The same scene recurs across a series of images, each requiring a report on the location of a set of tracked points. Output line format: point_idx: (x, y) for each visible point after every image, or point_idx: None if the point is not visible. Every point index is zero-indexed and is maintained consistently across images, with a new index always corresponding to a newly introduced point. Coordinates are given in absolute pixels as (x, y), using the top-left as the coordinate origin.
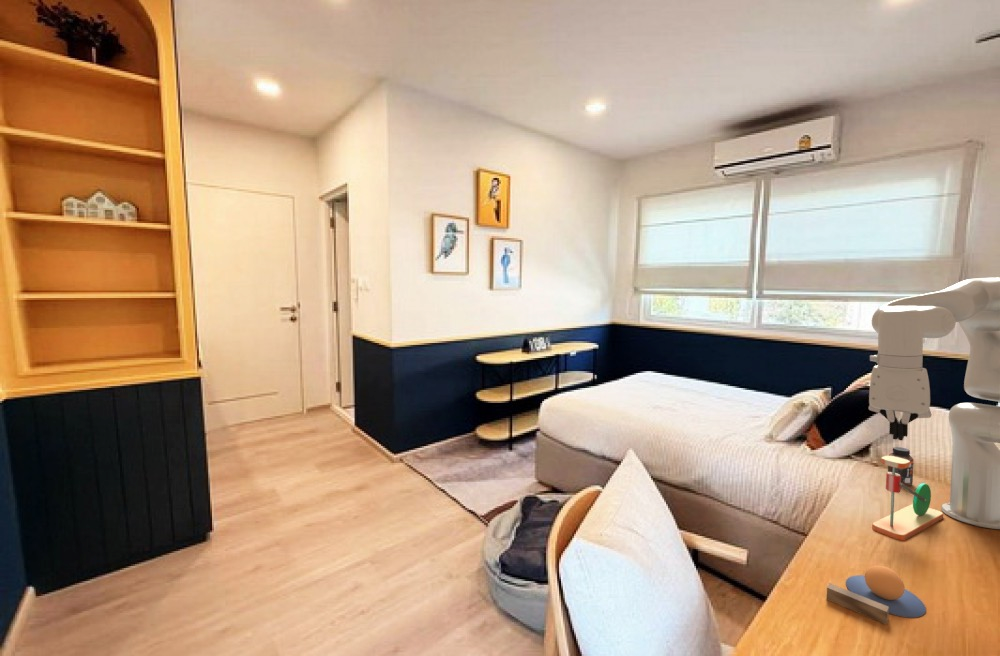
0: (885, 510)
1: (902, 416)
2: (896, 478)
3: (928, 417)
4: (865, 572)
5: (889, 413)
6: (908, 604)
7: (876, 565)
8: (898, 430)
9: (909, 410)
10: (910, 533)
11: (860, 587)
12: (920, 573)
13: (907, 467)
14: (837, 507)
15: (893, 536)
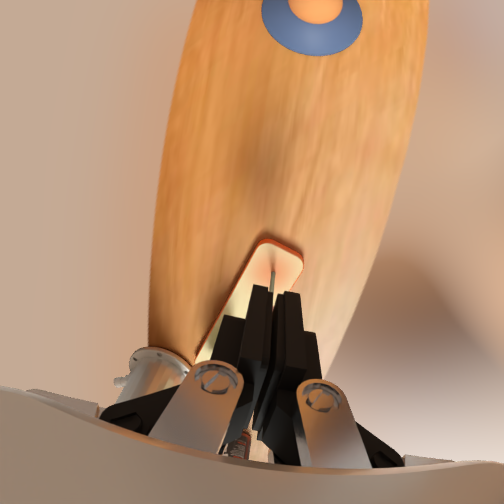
0: None
1: (228, 423)
2: None
3: (39, 390)
4: (342, 2)
5: (340, 451)
6: (282, 4)
7: (328, 2)
8: (269, 326)
9: (118, 451)
10: (246, 264)
11: (343, 13)
12: (251, 117)
13: (226, 453)
14: (346, 319)
15: (274, 241)
